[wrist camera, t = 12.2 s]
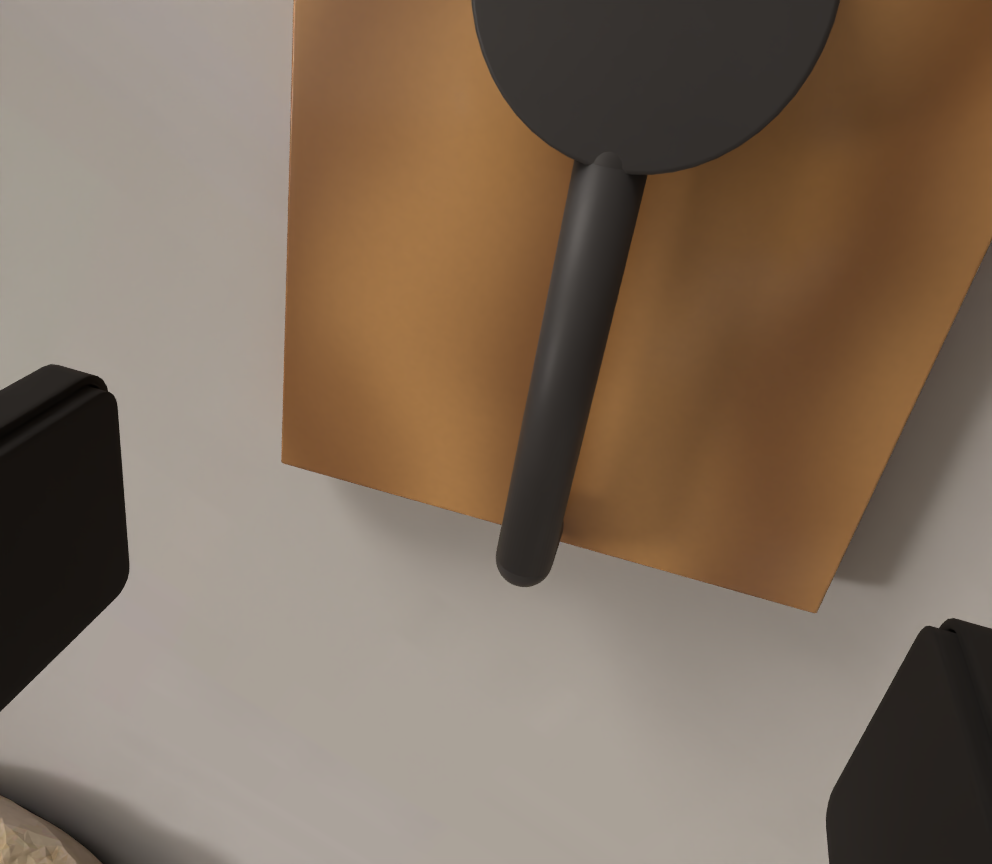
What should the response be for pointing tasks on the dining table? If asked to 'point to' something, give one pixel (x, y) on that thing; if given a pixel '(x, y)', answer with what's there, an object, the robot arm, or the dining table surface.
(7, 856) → the beige bone fragment
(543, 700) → the dining table surface
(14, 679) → the robot arm
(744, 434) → the board
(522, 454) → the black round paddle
